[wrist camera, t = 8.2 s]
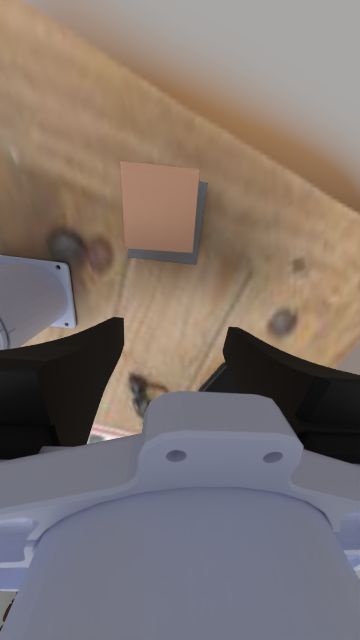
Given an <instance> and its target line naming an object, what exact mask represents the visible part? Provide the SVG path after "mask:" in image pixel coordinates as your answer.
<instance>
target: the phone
mask: <svg viewBox="0 0 360 640" xmlns="http://www.w3.org/2000/svg"><path fill="white" fill-rule="evenodd" d="M213 375H214V376H213ZM212 376H213V377H212ZM211 377H212V378H211ZM211 377H210V378H211V379H210V378H209V379H208V380H207V381H206V382H205V383H204V384H203V385H202V387H201V388H200V389H199V392H215V393H236V394H239V393H238V390H237V388H236V386H235V383H234V381H233V379H232V377H231V374H230V372H229V370H228V367H227V365H226V363H223V364H221V365H220V366H219V368H218V369H217V370H216V371H215V372H214V373H213V374H212V375H211Z"/></svg>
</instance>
